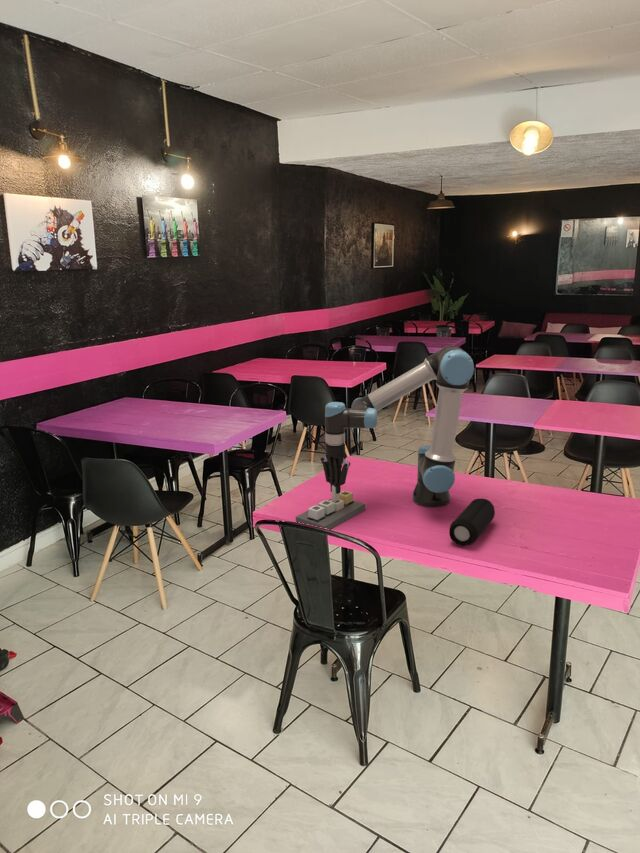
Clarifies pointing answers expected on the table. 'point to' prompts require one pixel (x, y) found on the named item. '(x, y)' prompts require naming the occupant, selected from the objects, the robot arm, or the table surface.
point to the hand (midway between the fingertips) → (335, 500)
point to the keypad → (333, 516)
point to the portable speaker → (471, 522)
